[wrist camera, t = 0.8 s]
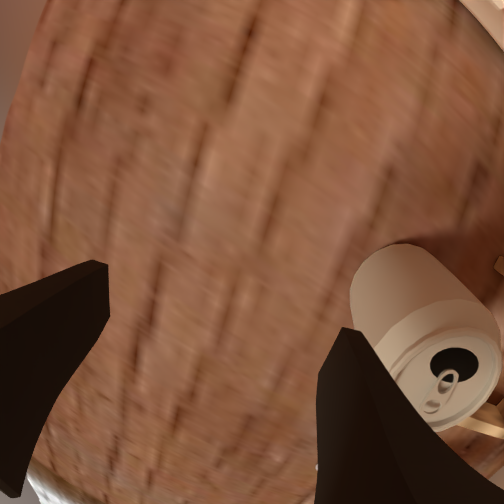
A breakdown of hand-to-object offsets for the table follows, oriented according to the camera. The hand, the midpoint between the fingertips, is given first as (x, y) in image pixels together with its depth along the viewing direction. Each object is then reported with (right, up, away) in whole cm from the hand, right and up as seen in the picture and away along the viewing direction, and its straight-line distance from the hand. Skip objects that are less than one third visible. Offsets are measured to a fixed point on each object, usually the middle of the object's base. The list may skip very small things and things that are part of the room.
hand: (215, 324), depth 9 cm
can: (+12, -1, +13) cm, 18 cm away
